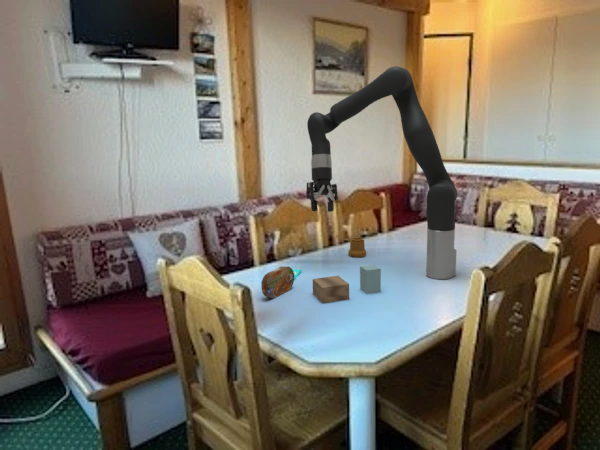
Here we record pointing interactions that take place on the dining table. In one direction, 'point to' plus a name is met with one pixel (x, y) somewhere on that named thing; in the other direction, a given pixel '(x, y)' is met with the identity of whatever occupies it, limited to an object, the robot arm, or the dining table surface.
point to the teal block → (370, 279)
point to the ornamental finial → (357, 247)
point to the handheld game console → (296, 272)
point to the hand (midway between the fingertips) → (322, 211)
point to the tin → (277, 282)
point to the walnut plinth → (330, 289)
